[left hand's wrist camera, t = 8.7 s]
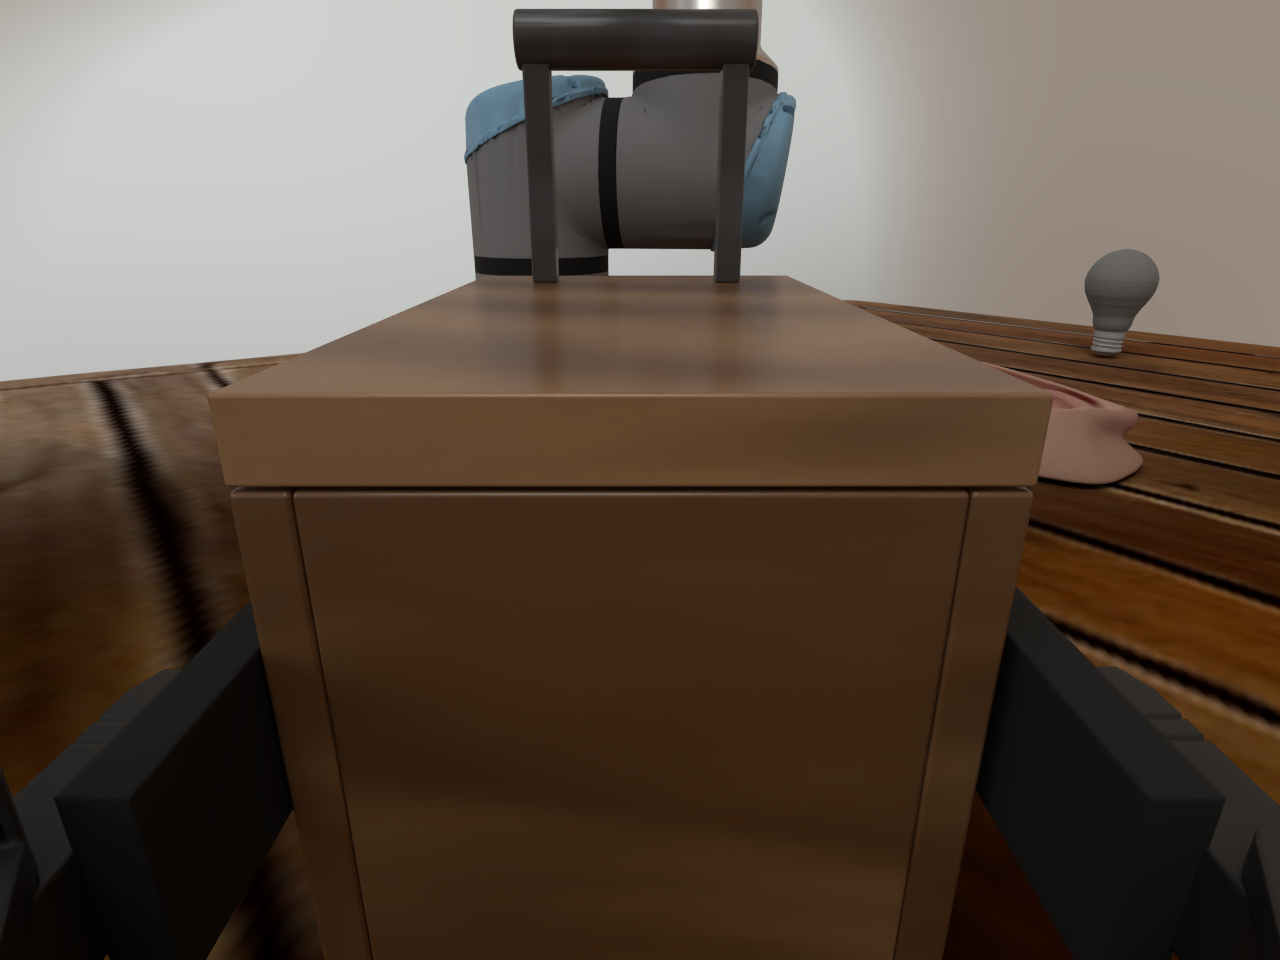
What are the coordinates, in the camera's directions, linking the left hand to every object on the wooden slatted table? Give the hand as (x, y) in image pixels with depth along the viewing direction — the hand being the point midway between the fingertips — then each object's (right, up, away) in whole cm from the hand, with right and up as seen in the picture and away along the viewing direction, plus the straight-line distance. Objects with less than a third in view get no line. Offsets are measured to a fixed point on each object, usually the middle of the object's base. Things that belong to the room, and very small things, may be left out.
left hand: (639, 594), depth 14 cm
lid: (0, +5, +3) cm, 5 cm away
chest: (0, -5, +6) cm, 8 cm away
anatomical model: (+24, +4, +31) cm, 40 cm away
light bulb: (+46, +14, +59) cm, 77 cm away
